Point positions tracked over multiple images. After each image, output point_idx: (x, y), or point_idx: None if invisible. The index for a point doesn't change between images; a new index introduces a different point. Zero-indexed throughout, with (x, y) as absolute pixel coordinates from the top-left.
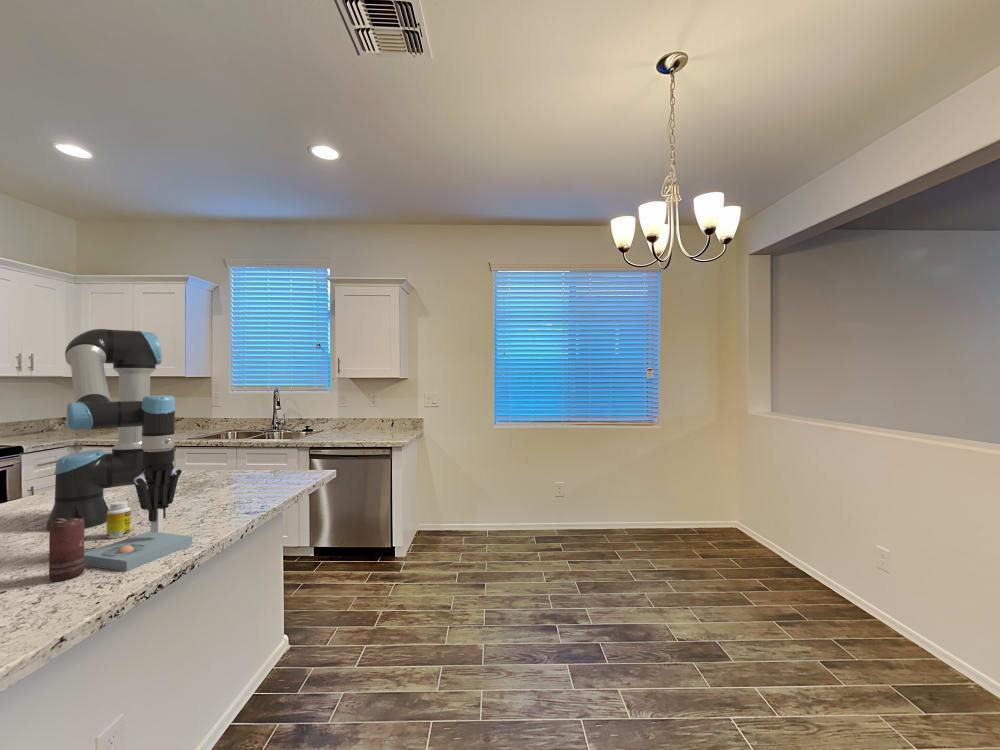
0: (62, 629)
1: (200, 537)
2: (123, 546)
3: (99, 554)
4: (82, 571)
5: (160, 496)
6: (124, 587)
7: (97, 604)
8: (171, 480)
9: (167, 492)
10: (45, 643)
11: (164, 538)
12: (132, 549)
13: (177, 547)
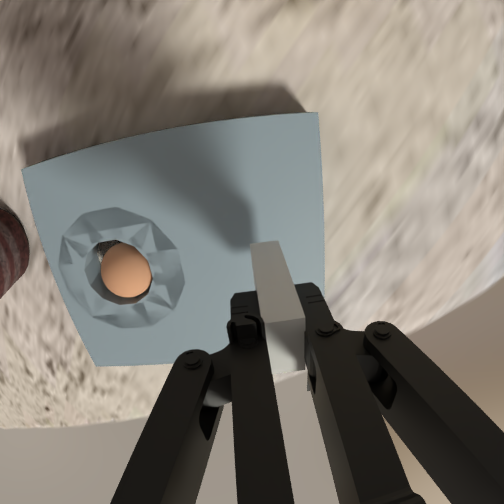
0: (18, 422)
1: (380, 280)
2: (113, 279)
3: (56, 237)
4: (24, 271)
5: (325, 423)
6: (83, 403)
7: (46, 412)
8: (464, 492)
9: (405, 410)
10: (9, 427)
11: None
12: (139, 294)
13: None
